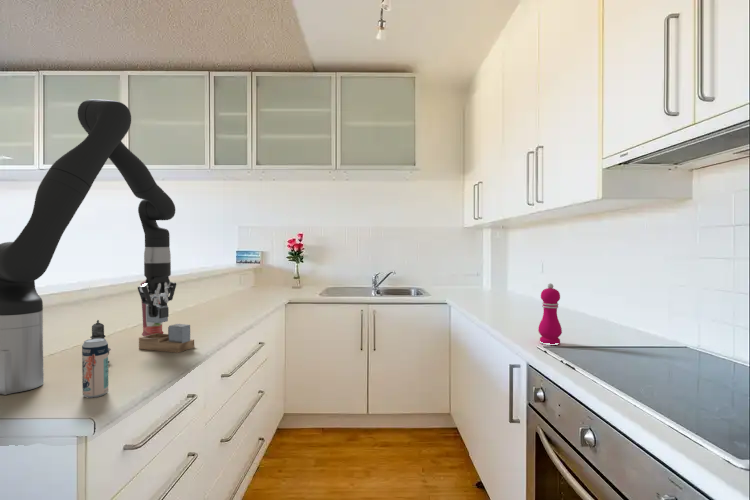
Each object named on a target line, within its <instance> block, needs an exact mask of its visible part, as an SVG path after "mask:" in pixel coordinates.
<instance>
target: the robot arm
mask: <svg viewBox="0 0 750 500" xmlns="http://www.w3.org/2000/svg"><path fill="white" fill-rule="evenodd" d="M77 118H78V122H79V124H80V125H81V127H82V128H83V129H84V131H85V132H86V134H88V135H87V136H86V137H85V138H84V139H83V140H82V142H80V143H79V144H78V145H76V146H74V147H73V148H72V149H70V150H69V151H67V152H66V153H64V154H63V155H61V157H59V158H58V159H57V160H56V161H55V162H53V163H52V165H51V166H50V167H49V169H48V170H47V172H46V173H45V175H44V176H43V179H42V180H41V181H40V183H39V185H38V188H37V189H36V190H37V191H36V193H35V198H34V202H33V203H34V204H33V208H32V213H31V215H30V218H29V219H28V221H27V223H26V225H25V226H24V228H23V229H22V231H21V232H20V233H19V235H17V237H16V239H14V241H7V242H2V243H0V395H5V396H6V395H10V394H14V393H19V392H20V393H22V392H25V391H29V390H33V389H37V388H38V387H41V386H42V385H44V382H45V381H44V379H45V378H44V375H45V373H44V324H43V323H44V319H43V318H44V317H43V316H44V312H43V311H44V310H43V309H44V303H43V299H42V297H41V296H40V295H39V294H38V292H37V289H36V283H35V282H36V280H38V279H40V278H41V277H42V276H43V275H44V274H45V273H46V271H47V269H48V268H49V266H50V264H51V261H52V259H53V256H54V254H55V252H56V251H57V247H58V245H59V243H60V240H61V238H62V236H63V234H64V232H65V231H66V229H67V227H68V226H69V225H70V223H71V221H72V220H73V218H74V216H75V215H76V212H77V211H78V209H79V208H80V206H81V204H82V203H83V202H84V200H85V198H86V197H87V195H88V193H89V192H90V190H91V187H92V186H93V184H94V182H95V181H96V179H97V177H98V175H99V174H100V172H101V171H102V169H103V167H104V166H105V164H106V162H107V161H108V160H110V161H111V163H112V164H113V166H115V167H116V169H117V170H118V171H119V173H120V174H121V176H122V177H123V179H124V181H125V183H126V184H127V185H128V187H129V189H130V190H131V192H132V193H133V195H134V196H135V197H136V198H137V199H140V200H141V201H139V204H138V208H137V209H138V210H137V212H138V216H139V219H140V223H141V226H142V229H143V233H144V253H143V265H144V266H143V269H144V270H143V273H144V274H143V275H144V277H145V280H146V282H145V284H144V285H143V286H141V285H138V286H137V291H138V294H139V296H140V299H141V300H142V302H141V304H142V303H143V304H147V305H148V314H149V316H150V317H156V307H157V305H156V302H157V298H158V297H159V301H160V303H159V305H167V306H168V303H169V302H170V301H172V300H173V298H174V295H175V291H176V287H177V283H176V282H172V281H170V277H171V275H172V269H171V267H172V265H171V262H172V261H171V258H172V257H171V255H172V254H171V248H170V245H171V244H170V242H171V241H170V240H171V239H170V238H171V235H170V231H169V230H168V229H167V228H163V227H160V226H159V225H158V223H157V221H170V220H171V219H173V218H174V216H175V214H176V206H175V205H176V204H175V202H174V201H173V199H172V198H171V197H170V196H169V195H168V194H167V193H166V192H165V191H164V190H163V188H161V187H160V186H159V185H158V184H157V182H156V181H155V179H154V177H153V175H152V174H151V172H150V170H149V169H148V167H147V166H146V165H145V163H144V162H143V161H142V160H141V159H140V158H139V157H138V156H137V155H136V154H134V152H132V151H131V150H130V149H129V148H128V147H127V146H126V145H125V144H124V143H123V142H122V140H123V139H124V138H125V136H126V135H127V134H128V132H129V130H130V128H131V124H132V114H131V111H130V109H129V107H128V106H127V105H126V104H124V103H123V102H120V101H116V100H110V99H86V100H84V101H82V102H81V103H80V104H79V106H78V108H77ZM152 294H154V295H152ZM152 298H153V301H152ZM141 300H140V301H141Z"/></svg>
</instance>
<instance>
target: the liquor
mask: <svg viewBox="0 0 750 500" xmlns="http://www.w3.org/2000/svg"><path fill="white" fill-rule="evenodd" d="M145 282H146V279H145V280H143V281H142V282H141V283H140V286H143V285H144V284H145ZM152 295H154V294H152ZM140 301H141V312H142V313H141V314H142V315H141V316H142V332H141V336H142V337H143V336H147V335H151V334H155V333H160V334H164V331H163V322H162V323H152V322H147V306H148V305H147V304H143V303H142V300H140ZM152 301H153V298H152ZM159 303H160V301H159V297H158V298H157V302H156V305H159Z"/></svg>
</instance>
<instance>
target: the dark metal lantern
mask: <svg viewBox="0 0 750 500" xmlns="http://www.w3.org/2000/svg"><path fill="white" fill-rule="evenodd" d="M96 338H104V339H105V338H106V335H105V325H104V323H101V322H100V319H97V321H96V322H95V323H94V324H92V326H91V336H90V339H96ZM110 351H111V348H110V347H108V356H109V354H110ZM109 363H110V360H108V364H109Z"/></svg>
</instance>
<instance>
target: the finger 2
mask: <svg viewBox="0 0 750 500" xmlns="http://www.w3.org/2000/svg"><path fill="white" fill-rule="evenodd" d="M167 334H168V337H169V342H175V343H184V342H188V341H190V339H191V324H185V323H175V324H171V325H168V327H167Z"/></svg>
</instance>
